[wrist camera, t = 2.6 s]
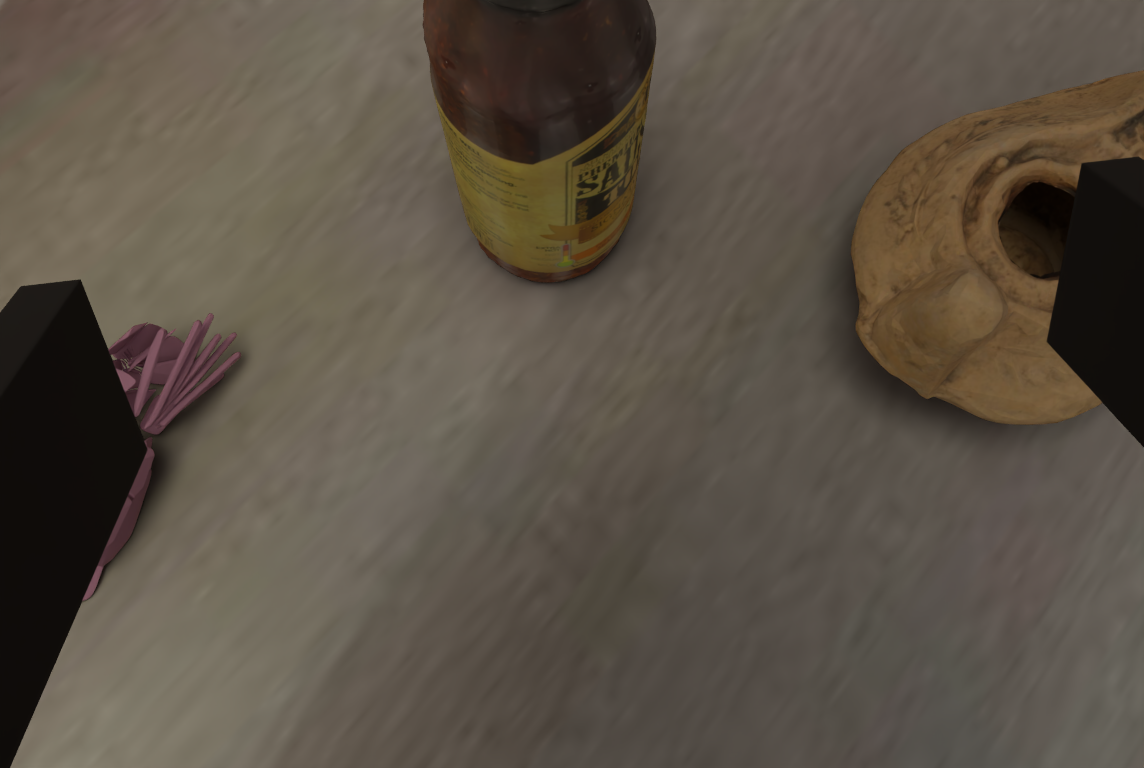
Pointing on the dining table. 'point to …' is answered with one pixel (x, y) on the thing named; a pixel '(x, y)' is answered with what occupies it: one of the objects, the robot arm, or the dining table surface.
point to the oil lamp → (987, 250)
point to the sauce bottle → (543, 123)
